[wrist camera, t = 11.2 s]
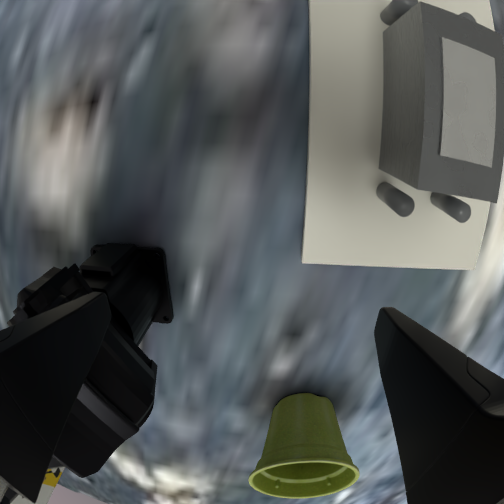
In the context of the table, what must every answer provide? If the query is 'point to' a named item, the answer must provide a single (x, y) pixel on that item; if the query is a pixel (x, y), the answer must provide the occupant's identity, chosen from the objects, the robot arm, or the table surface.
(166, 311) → the robot arm
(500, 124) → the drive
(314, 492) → the plant pot
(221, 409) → the table surface
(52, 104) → the table surface
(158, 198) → the table surface
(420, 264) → the peg board
